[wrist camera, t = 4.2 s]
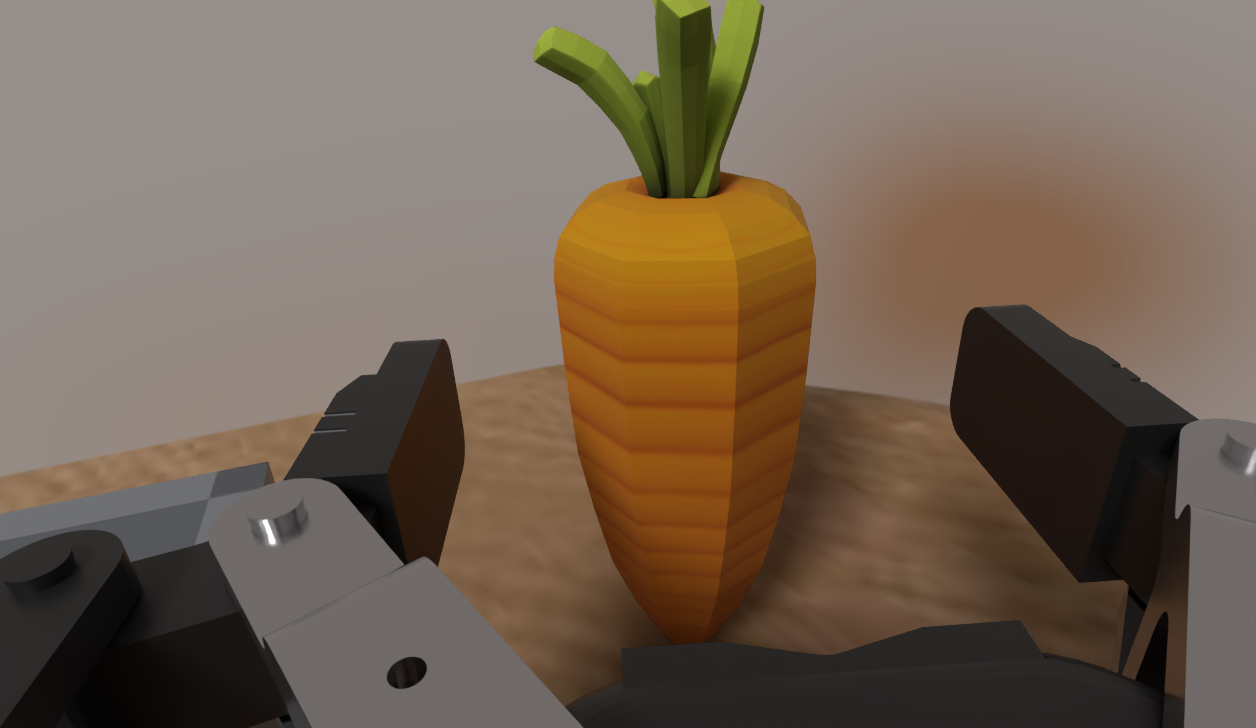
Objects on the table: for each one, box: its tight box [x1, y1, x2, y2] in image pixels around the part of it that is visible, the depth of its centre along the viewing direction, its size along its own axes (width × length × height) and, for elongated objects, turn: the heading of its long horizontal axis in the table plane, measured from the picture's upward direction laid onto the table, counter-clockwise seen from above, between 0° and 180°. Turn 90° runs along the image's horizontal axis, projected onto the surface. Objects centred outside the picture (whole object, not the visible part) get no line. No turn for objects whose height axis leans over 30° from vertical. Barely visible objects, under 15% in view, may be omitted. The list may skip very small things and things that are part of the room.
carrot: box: [534, 0, 816, 645], centre depth 15 cm, size 5×5×15 cm
